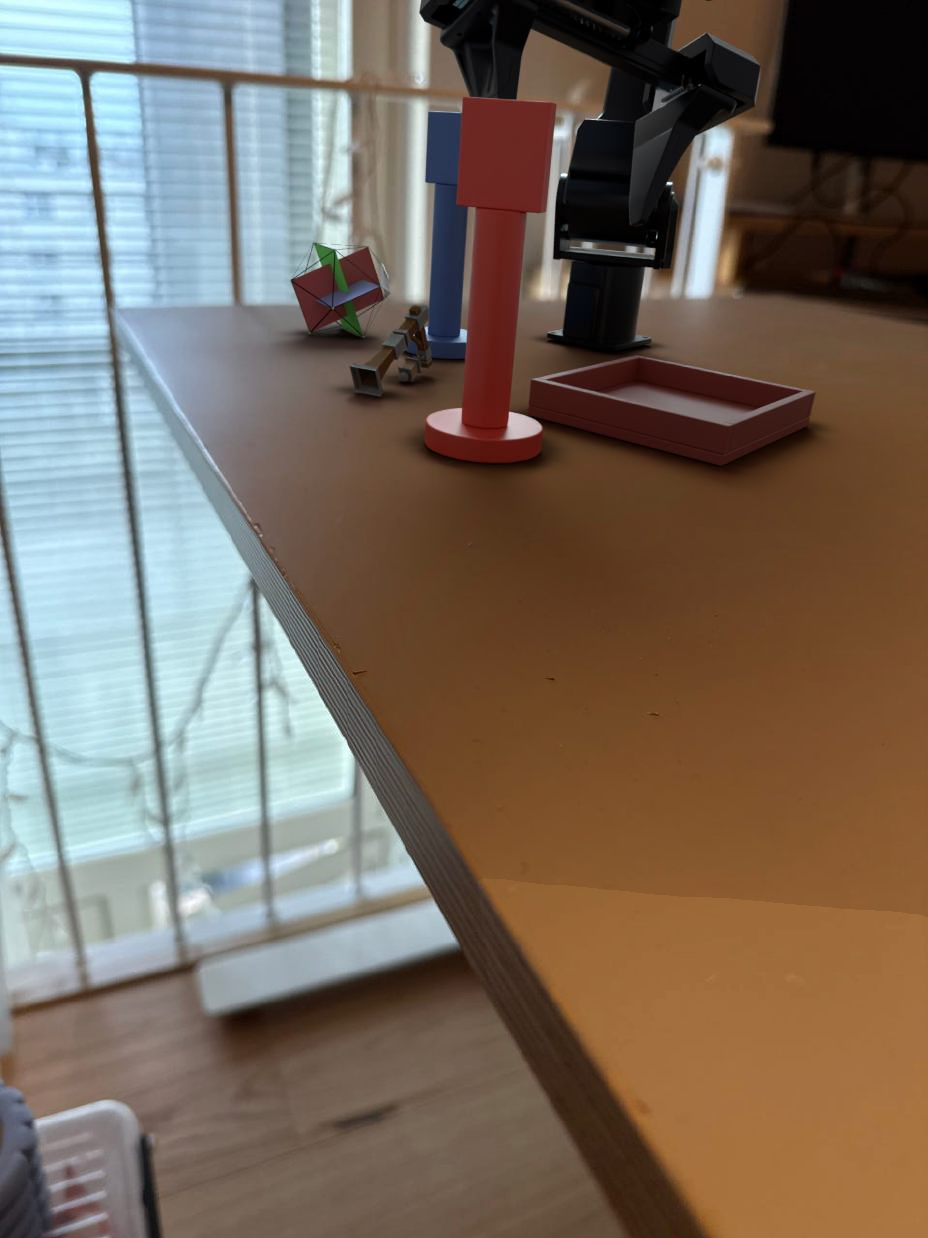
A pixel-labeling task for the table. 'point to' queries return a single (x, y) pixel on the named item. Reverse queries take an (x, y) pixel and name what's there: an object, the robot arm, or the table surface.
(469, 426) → the signpost on round base
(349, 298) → the geometric puzzle
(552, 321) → the table surface
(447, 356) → the blue pillar
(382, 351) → the jointed funnel contraption
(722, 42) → the robot arm
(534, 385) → the red tray
